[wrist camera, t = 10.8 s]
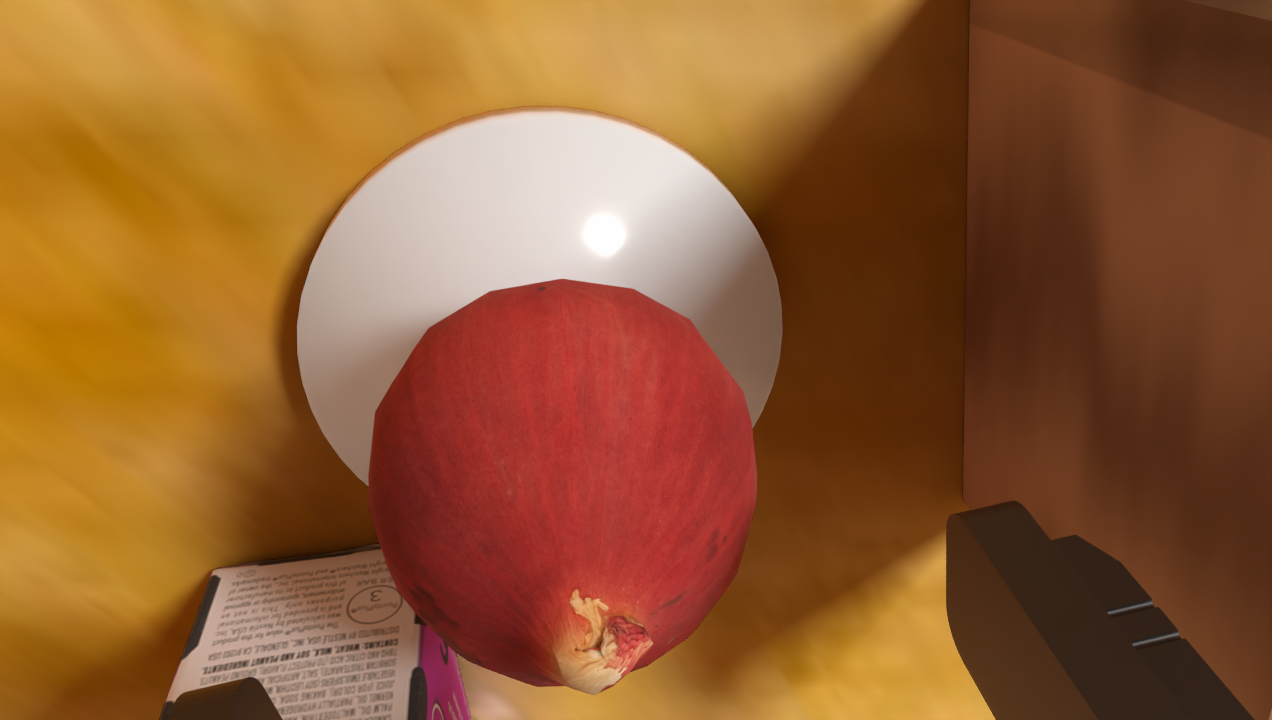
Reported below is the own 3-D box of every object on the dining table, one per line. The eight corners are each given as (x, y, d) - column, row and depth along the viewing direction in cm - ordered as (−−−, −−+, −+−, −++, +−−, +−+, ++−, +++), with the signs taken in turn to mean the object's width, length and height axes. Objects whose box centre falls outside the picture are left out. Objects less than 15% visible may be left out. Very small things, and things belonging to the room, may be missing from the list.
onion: (664, 492, 19) (763, 855, 12) (378, 468, 18) (313, 857, 11) (734, 231, 17) (910, 510, 10) (406, 182, 15) (343, 463, 9)
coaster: (226, 165, 16) (215, 180, 15) (746, 57, 16) (757, 67, 15) (387, 559, 20) (384, 585, 20) (789, 469, 21) (800, 491, 20)
